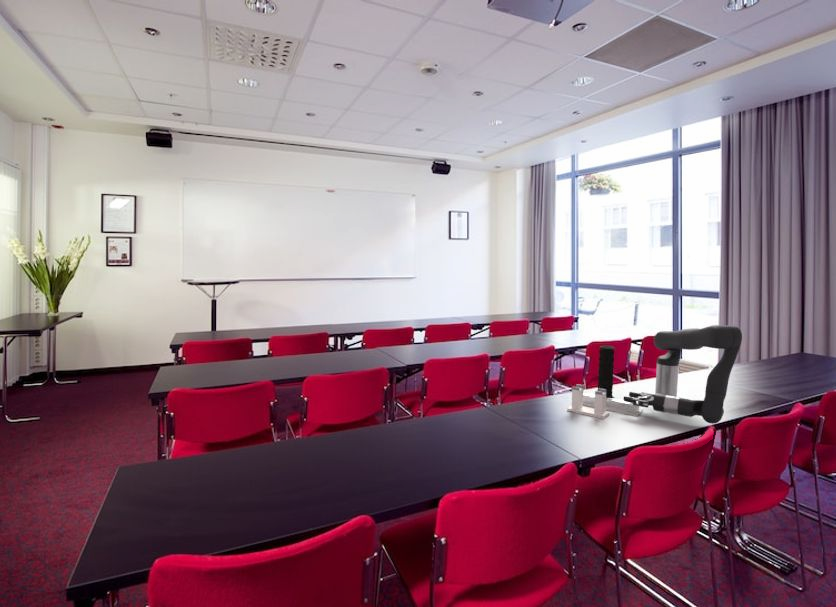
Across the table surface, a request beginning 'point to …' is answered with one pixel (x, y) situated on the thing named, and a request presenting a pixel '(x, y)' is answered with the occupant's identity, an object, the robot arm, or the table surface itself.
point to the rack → (578, 407)
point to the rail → (612, 403)
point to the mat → (616, 409)
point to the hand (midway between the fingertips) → (626, 396)
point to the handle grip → (606, 369)
